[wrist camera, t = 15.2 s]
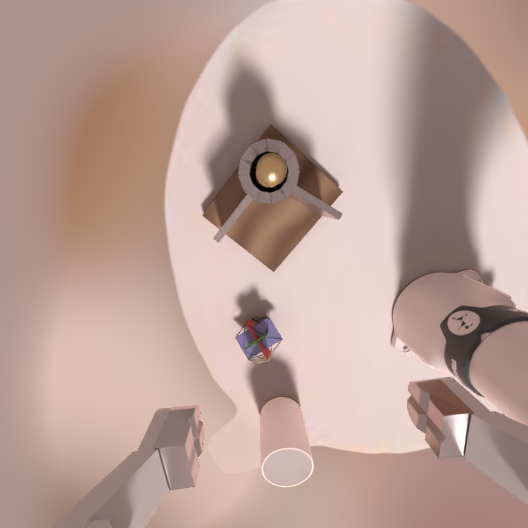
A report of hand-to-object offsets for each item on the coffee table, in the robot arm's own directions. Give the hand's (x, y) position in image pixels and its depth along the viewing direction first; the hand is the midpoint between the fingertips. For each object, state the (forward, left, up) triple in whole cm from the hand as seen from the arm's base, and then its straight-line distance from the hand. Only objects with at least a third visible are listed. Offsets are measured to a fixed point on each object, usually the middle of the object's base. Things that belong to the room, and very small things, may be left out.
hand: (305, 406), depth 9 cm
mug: (-25, +24, -31) cm, 47 cm away
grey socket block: (+4, -5, -30) cm, 30 cm away
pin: (+7, -8, -30) cm, 31 cm away
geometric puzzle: (-8, +12, -31) cm, 34 cm away
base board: (+4, -6, -31) cm, 32 cm away
